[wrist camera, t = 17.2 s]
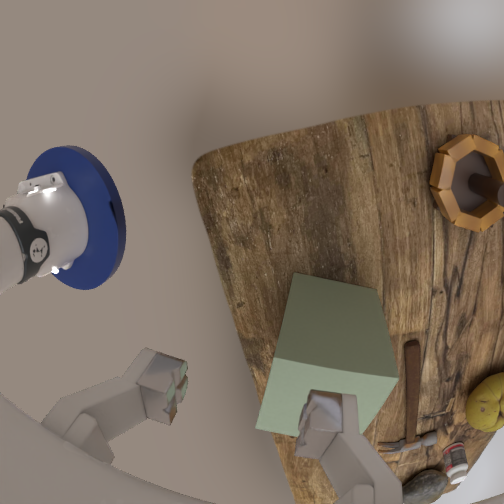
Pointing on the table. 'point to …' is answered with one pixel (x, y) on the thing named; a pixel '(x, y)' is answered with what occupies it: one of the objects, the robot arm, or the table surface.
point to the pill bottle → (455, 462)
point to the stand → (474, 183)
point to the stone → (425, 487)
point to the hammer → (411, 405)
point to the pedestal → (328, 352)
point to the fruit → (487, 404)
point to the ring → (442, 176)
